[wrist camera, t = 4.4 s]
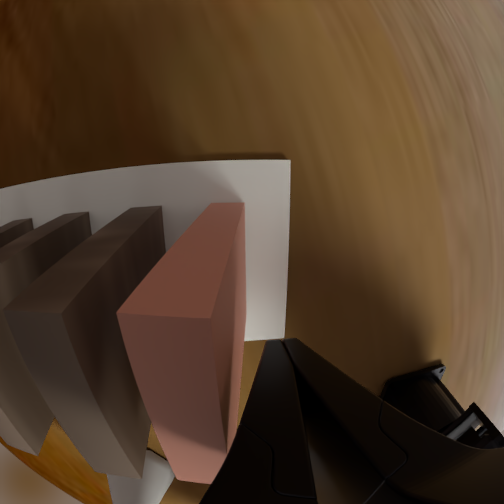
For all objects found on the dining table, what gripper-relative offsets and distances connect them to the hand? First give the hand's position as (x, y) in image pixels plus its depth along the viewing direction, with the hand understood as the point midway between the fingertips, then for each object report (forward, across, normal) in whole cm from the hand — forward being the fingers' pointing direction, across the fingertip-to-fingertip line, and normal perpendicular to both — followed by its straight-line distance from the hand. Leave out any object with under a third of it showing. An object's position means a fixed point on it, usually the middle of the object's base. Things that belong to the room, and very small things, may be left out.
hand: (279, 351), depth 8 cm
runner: (+8, +9, 0) cm, 12 cm away
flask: (+8, +11, +21) cm, 25 cm away
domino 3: (+8, +1, 0) cm, 8 cm away
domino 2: (+8, +5, 0) cm, 9 cm away
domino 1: (+8, +9, 0) cm, 12 cm away
